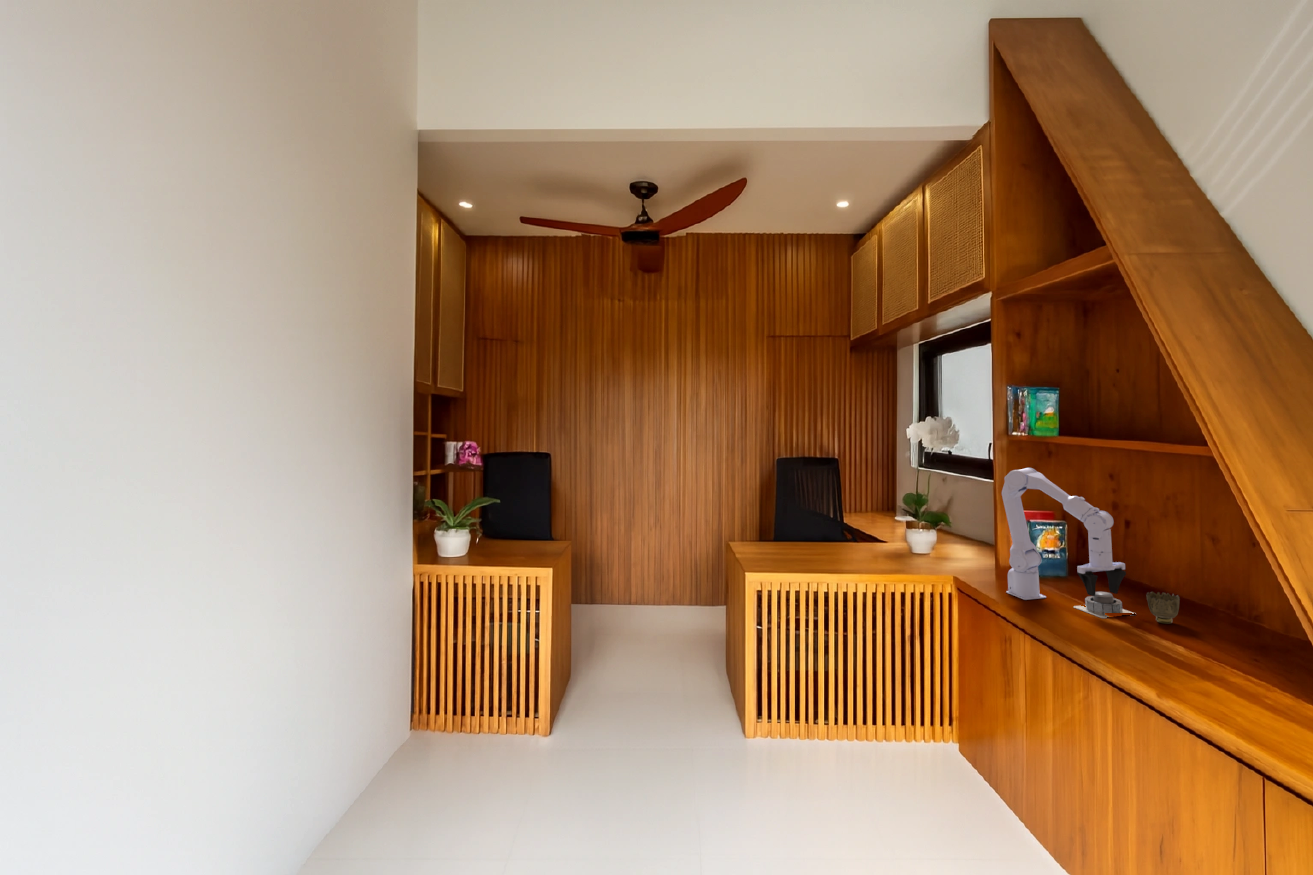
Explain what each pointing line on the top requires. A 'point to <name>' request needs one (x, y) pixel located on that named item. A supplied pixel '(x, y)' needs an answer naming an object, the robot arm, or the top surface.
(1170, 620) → the cup
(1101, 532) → the robot arm
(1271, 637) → the top surface
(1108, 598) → the cap
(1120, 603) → the flanged metal ring
